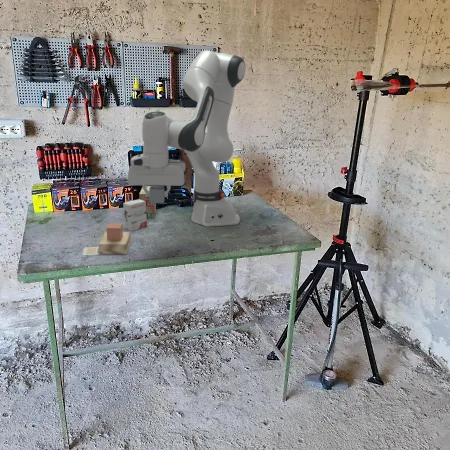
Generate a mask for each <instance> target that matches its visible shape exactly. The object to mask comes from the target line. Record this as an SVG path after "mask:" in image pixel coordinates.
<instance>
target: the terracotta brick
mask: <svg viewBox="0 0 450 450" xmlns="http://www.w3.org/2000/svg"><path fill="white" fill-rule="evenodd" d="M105 229H106V232H107V240H113V241H121V239H122V236H123V232H124V231H123V223H122V222H121V223H118V222H117V223H114V222H113V223H112V222H111V223H108V224H107V227H106V228H105Z"/></svg>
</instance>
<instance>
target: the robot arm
mask: <svg viewBox="0 0 450 450" xmlns="http://www.w3.org/2000/svg"><path fill="white" fill-rule="evenodd" d="M245 74H246V62H245V61H244V58H242V57H241V56H238V55H236V54H235V55H232V54H229V53H224V52H214V51H212V50H208V49H207V50H206V49H205V50H202V51H200V52H198V53H197V54H196V55H195V56H194V58H193V61H192V62H191V64H190V65H189V67H188V69H187V70H186V72H185V74H184V76H183V79H182V87H183V89H184V91H185V94H186V95H187V96H188V97H189V98H190V99H191V100H192V101H195V102H196V103H197V104H196V107H195V111H194V114H193V117H192V118H191V120H188V121H183V120H181V121H180V120H176V119H175V120H174V119H172V118H170V117H168V116H167V114H166V113H165V112H164V111H158V110H156V111H150V112H147V113H146V114H145V115H144V116H143V120H142V127H141V128H142V131H141V132H142V134H141V135H142V141H143V149H142V153H141V154H137V155H134V156H132V157H131V159H130V166H129V168H128V172H127V183H128V184H129V185H130V186H142V187H143V190H144V191H145V193H146V197H150V193H149V191H148V190H147V189H146V187H147V186H164V187H165V186H166V190H164V198H168V197H169V192H170V191H171V187H172V186H173V187H175V186H177V187H178V186H179V187H180V186H181V187H182V186H184V185H185V181H186V179H185V171H186V163H185V161H183V160H181V159H169V147H171V148H174V149H181V150H184V152H185V153H186V155H187V156H188V158H189V160H190V162H191V163H190V164H191V166H192V169H193V173H194V175H193V176H194V189H193V194H192V195H193V197H192V199H193V210H192V214H191V217H190V219H191V221H192V222H193V223H195V224H198V225H202V226H203V227H206V228H208V227H209V228H210V227H221V226H235V225H239V223H240V222H241V218H240V216H239V214H237V213H236V210H235V207H234V205H233V204H232V203H231V202H230V201H228V200H227V199H226V198H225V197H226V194H225V193H224V191H223V190H222V189H220V172H219V170H218V169H217V168H216V166H215V165H214V163H226V162H229V160H230V159H231V158H232V157H233V154H234V144H233V143H232V141H231V139H230V137H229V132H228V123H229V118H230V114H231V109H232V107H233V106H232V105H233V101H234V95H235V87H237V85H238V84H240V83H241V82H242V80H243V79H244V77H245ZM142 187H141V188H142Z"/></svg>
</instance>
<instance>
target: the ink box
mask: <svg viewBox="0 0 450 450" xmlns="http://www.w3.org/2000/svg"><path fill="white" fill-rule="evenodd" d="M122 204H123V205H122V208H123V217H124V218H123V220H124V221H123V223H124V229H125V230H127V231H128V232H132V231H137V230H139V229H140V230H141V229H143V228H147V227H148V221H147V220H148V219H147V216H146V202H145V201H143V200H140V199H139V198H138V199H134V200H131V201H126V202H123V203H122Z"/></svg>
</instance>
